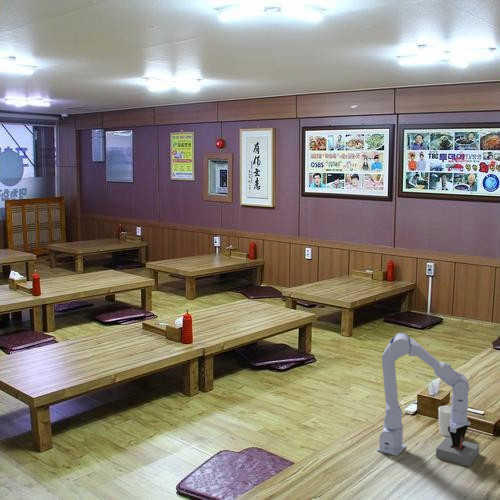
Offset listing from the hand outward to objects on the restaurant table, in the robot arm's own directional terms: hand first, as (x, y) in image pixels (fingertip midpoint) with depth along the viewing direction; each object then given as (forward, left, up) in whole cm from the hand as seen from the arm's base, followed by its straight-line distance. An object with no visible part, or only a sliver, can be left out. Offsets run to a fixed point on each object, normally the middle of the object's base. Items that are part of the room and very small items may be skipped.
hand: (458, 444), depth 223 cm
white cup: (+17, +9, -5) cm, 20 cm away
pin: (0, 0, -4) cm, 4 cm away
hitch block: (0, 0, -4) cm, 4 cm away
